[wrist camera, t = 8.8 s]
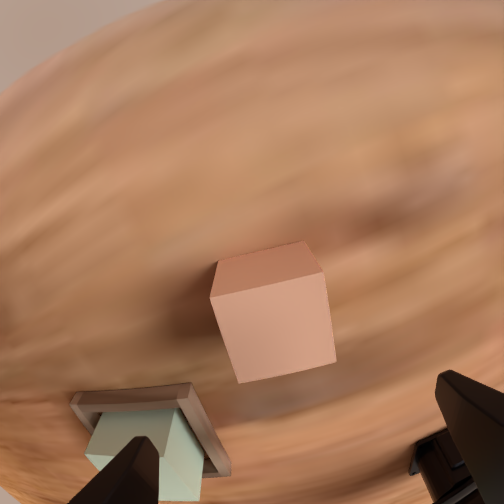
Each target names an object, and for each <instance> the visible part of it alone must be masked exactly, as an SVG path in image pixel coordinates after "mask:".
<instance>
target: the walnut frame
mask: <svg viewBox="0 0 504 504" xmlns="http://www.w3.org/2000/svg"><path fill="white" fill-rule="evenodd" d="M69 405H70V407H71V408H72V410H73V411H74V412H75V414H76V415H77V417H78V418H79V419H80V421H81V422H82V423H83V425H84V426H85V427H86V429H87V430H88V431H89V433H90V434H91V435H93V433H94V430H95V428H96V426H97V424H98V422H99V420H100V415H99V414H98V413H97V412H124V411H144V410H159V409H171V408H181V409H182V411H183V413H184V414H185V416H186V418H187V420H188V422H189V423H190V425H191V427H192V429H193V430H194V432H195V434H196V436H197V437H198V439H199V441H200V443H201V444H202V446H203V448H204V449H205V451H206V453H207V454H208V456H209V457H210V459H207V460H204V461H203V470H202V478H214V477H227V476H231V461H230V459H229V457H228V455H227V453H226V451H225V450H224V448H223V446H222V444H221V442H220V440H219V438H218V436H217V435H216V433H215V431H214V429H213V427H212V425H211V423H210V421H209V419H208V417H207V415H206V413H205V411H204V409H203V407H202V405H201V403H200V401H199V398H198V396H197V394H196V392H195V390H194V388H193V386H192V384H191V383H184V384H176V385H168V386H159V387H149V388H138V389H125V390H111V391H91V392H76V394H75V395H74V397H73V399H72V400H71V402H70V404H69Z"/></svg>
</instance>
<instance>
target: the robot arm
mask: <svg viewBox="0 0 504 504" xmlns="http://www.w3.org/2000/svg"><path fill="white" fill-rule="evenodd" d="M435 397H436V400H437V403H438V405H439V407H440V410H441V412H442V415H443V417H444V420H445V422H446V425H447V427H448V429H447V430H444V431H442V432H440V433H438V434H435V435H433V436H431V437H429V438H426V439H424V440H421V441H419V442H418V443H417V444H416V445H415V449H414V453H413V457H412V461H411V465H410V468H409V475H410V476H413V475H415V474H418V473H421V475H422V478H423V480H424V482H425V484H426V487H427V489H428V491H429V493H430V496H431V498H432V500H433V502H434V503H433V504H504V393H502V392H500V391H497V390H495V389H493V388H491V387H488V386H486V385H484V384H482V383H479V382H477V381H475V380H473V379H470V378H468V377H466V376H464V375H462V374H459V373H457V372H455V371H453V370H447V371H444V372H442V373H440V374H439V375H438V377H437V383H436V389H435ZM159 459H160V457H159V452H158V450H157V449H156V447H155V446H154V444H153V443H152V442H151V440H150V439H149V438H148V437H147V436H135V437H134V438H132V439H131V440H130V441H129V443H128V444H127V445H126V446H125V447H124V448H123V449H122V450H121V451H120V452H119V453H118V454H117V455H116V456H115V457H114V458H113V459H112V460H111V461H110V462H109V463H108V464H107V465H106V466H105V467H104V468H103V469H102V470H101V471H100V472H99V473H98V474H97V475H96V476H95V477H94V478H93V479H92V480H91V481H90V482H89V483H88V484H87V485H86V486H85V487H84V488H83V489H82V490H81V491H79V492H78V493H77V494H76V495H75V496H74V497H73V498H72V499H71V500H70V501H69V503H67V504H158V499H159Z"/></svg>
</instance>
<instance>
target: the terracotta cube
mask: <svg viewBox="0 0 504 504" xmlns="http://www.w3.org/2000/svg"><path fill="white" fill-rule="evenodd" d="M210 301H211V304H212V307H213V310H214V313H215V316H216V319H217V322H218V325H219V328H220V331H221V334H222V337H223V340H224V343H225V346H226V349H227V352H228V355H229V357H230V360H231V363H232V366H233V369H234V371H235V374H236V377H237V380H238V383H244V382H250V381H255V380H260V379H265V378H270V377H275V376H280V375H285V374H289V373H294V372H298V371H302V370H306V369H311V368H315V367H319V366H323V365H327V364H330V363H334V362H336V354H335V346H334V338H333V331H332V324H331V317H330V310H329V303H328V296H327V290H326V284H325V277H324V272H323V270H322V268H321V267H320V265H319V264H318V262H317V260H316V259H315V257H314V256H313V254H312V253H311V251H310V249H309V248H308V246H307V245H306V243H305V242H304V241H300V242H296V243H292V244H287V245H283V246H279V247H275V248H270V249H266V250H262V251H258V252H253V253H249V254H245V255H240V256H236V257H232V258H228V259H223V260H219V261H218V265H217V269H216V273H215V277H214V281H213V285H212V289H211V294H210Z"/></svg>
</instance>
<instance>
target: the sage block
mask: <svg viewBox="0 0 504 504" xmlns="http://www.w3.org/2000/svg"><path fill="white" fill-rule="evenodd" d="M135 436H147V437H148V438H149V439H150V440H151V442H152V443H153V444H154V446H155V447H156V449H157V450H158V452H159V457H160V459H159V499H158V501H199V499H200V489H201V480H202V470H203V461H204V453H205V452H204V450H203V449H202V447H201V445H200V444H199V442H198V440H197V439H196V437H195V435H194V433H193V432H192V430H191V428H190V426H189V425H188V423H187V421H186V419H185V417H184V416H183V414H182V412H181V410H180V408H171V409H159V410H144V411H124V412H103V413H102V415H101V417H100V420H99V422H98V424H97V426H96V428H95V430H94V433H93V435H92V437H91V439H90V442H89V444H88V446H87V448H86V451H85V453H84V454H85V456H86V457H87V458H88V459H89V460H90V461H91V462H92V463H93V465H94V466H95V467H96V468H97V469H98V470H99V471H101V470H102V469H103V468H104V467H105V466H106V465H107V464H108V463H109V462H110V461H111V460H112V459H113V458H114V457H115V456H116V455H117V454H118V453H119V452H120V451H121V450H122V449H123V448H124V447H125V446H126V445H127V444H128V443H129V441H130V440H131V439H132V438H134V437H135Z"/></svg>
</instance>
